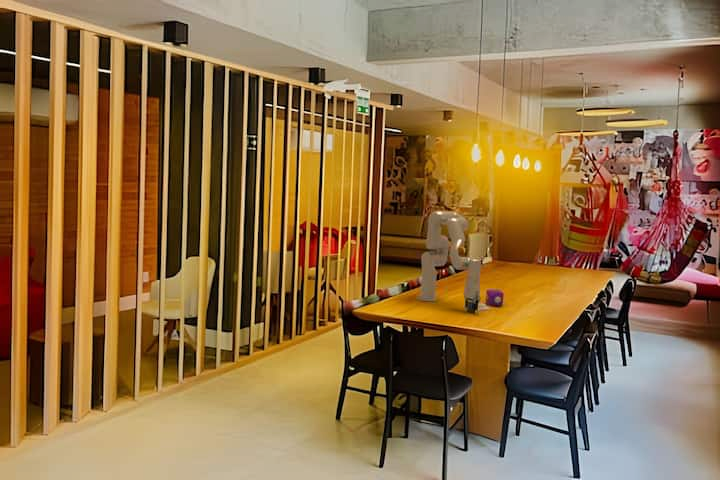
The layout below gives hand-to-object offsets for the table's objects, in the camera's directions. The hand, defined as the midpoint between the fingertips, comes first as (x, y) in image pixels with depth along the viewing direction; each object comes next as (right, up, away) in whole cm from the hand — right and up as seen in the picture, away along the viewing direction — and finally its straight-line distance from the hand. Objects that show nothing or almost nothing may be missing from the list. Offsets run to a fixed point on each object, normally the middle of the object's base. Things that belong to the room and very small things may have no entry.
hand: (471, 308), depth 377 cm
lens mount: (+6, -2, +13) cm, 14 cm away
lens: (0, -2, 0) cm, 2 cm away
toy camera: (+20, -1, +28) cm, 34 cm away
